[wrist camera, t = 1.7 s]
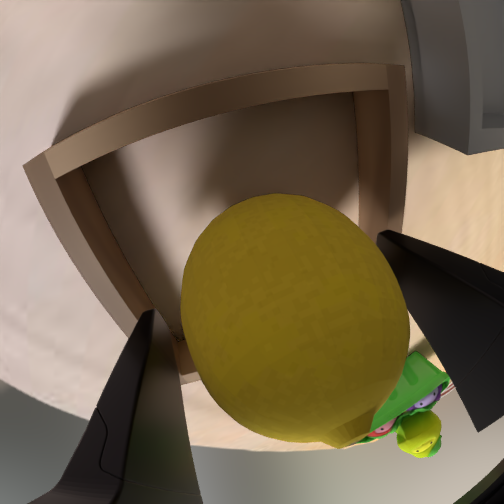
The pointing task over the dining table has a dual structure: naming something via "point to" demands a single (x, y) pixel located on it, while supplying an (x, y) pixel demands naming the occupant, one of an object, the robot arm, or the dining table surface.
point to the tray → (458, 71)
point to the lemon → (294, 320)
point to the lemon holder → (203, 106)
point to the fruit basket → (413, 409)
